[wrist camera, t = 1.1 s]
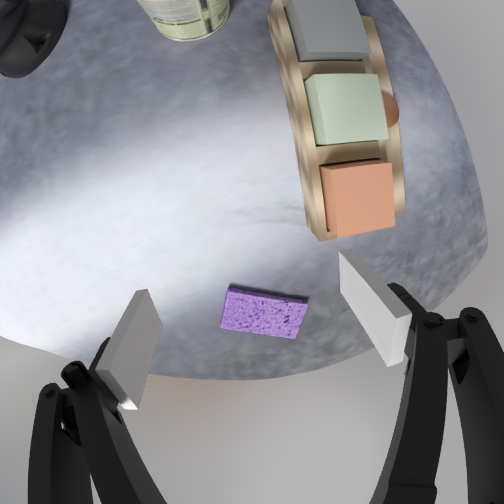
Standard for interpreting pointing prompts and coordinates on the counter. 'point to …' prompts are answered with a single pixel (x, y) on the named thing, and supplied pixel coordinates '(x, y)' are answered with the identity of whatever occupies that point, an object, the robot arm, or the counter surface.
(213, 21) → the coffee can
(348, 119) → the sage key
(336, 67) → the key panel
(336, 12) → the grey key
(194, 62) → the counter surface
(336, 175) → the terracotta key
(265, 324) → the sponges
